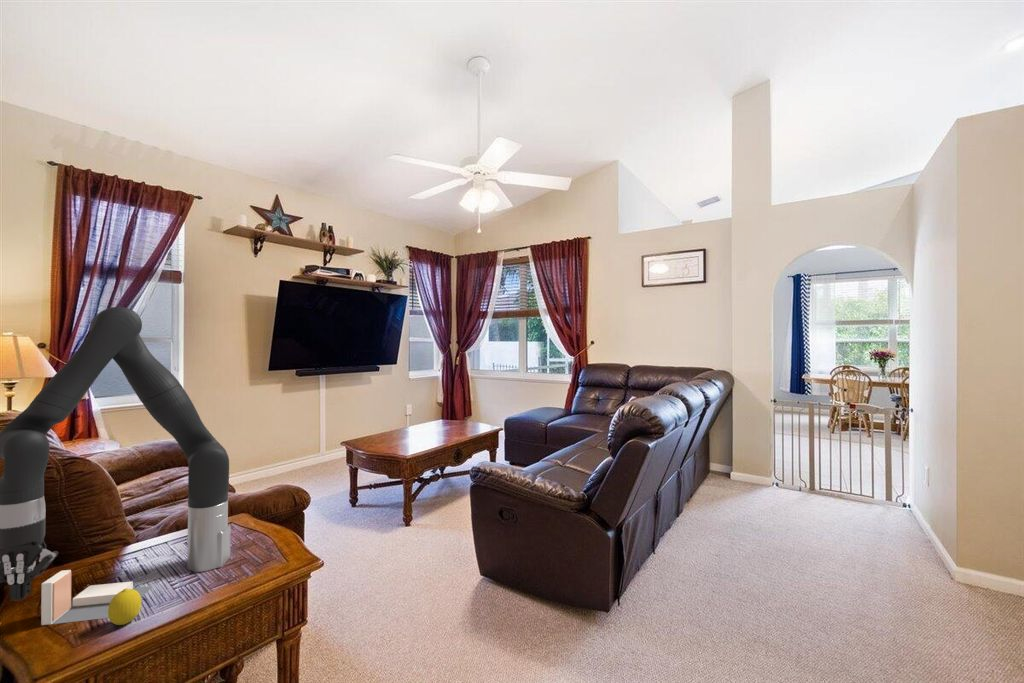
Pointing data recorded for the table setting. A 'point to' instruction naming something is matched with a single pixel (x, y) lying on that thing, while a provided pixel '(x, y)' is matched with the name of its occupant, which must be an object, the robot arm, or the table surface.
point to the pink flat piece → (56, 597)
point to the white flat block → (100, 593)
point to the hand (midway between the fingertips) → (20, 598)
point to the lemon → (124, 607)
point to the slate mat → (92, 610)
